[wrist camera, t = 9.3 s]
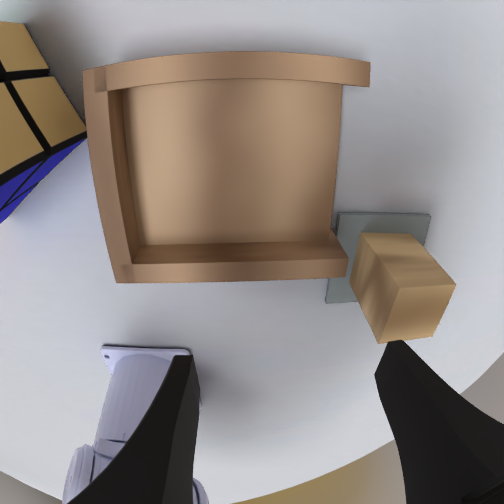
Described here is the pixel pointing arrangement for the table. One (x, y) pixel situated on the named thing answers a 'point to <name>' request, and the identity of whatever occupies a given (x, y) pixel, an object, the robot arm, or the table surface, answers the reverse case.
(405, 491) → the robot arm
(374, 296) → the oak block
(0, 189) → the puzzle cube
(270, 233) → the tray
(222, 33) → the table surface
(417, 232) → the slate pad
